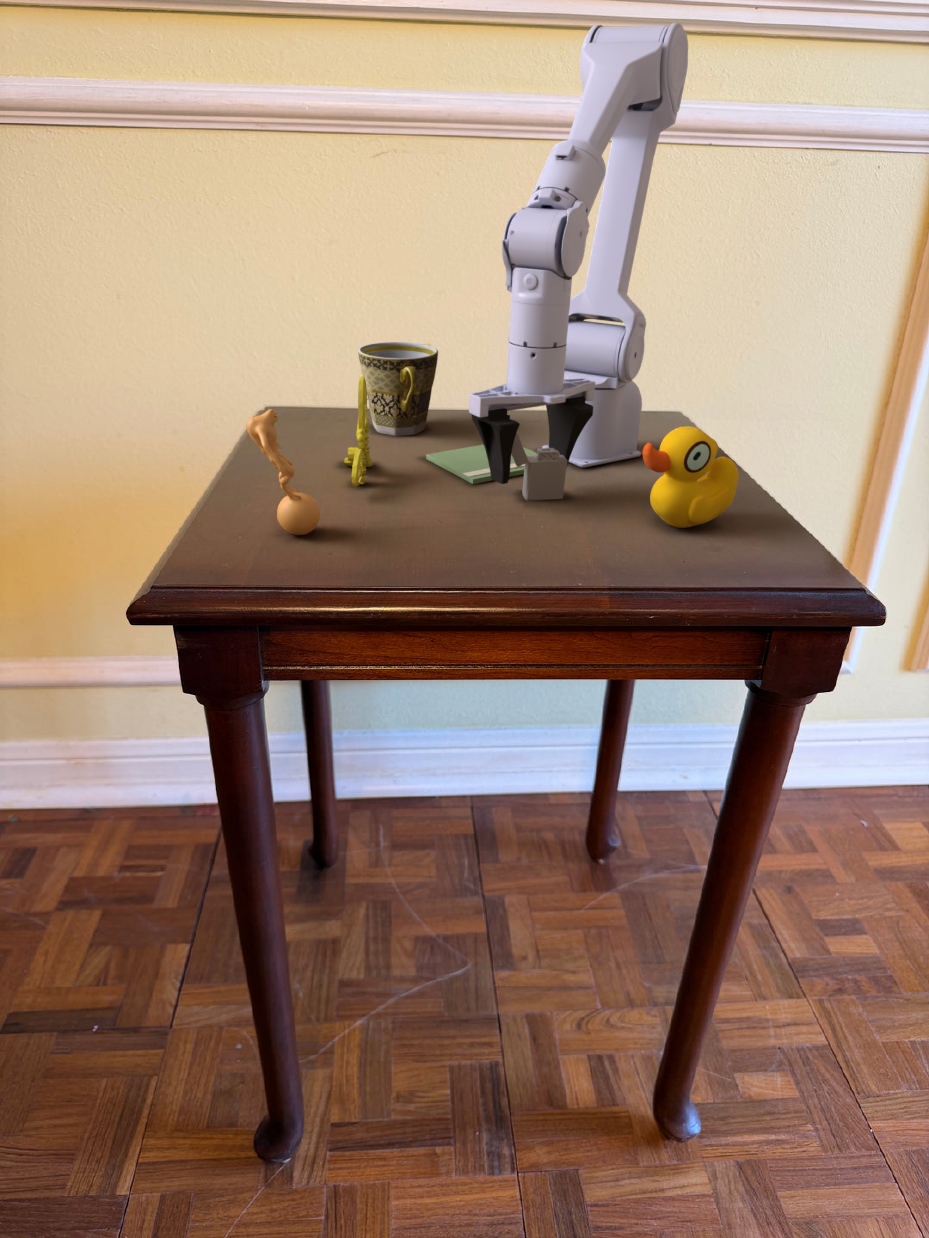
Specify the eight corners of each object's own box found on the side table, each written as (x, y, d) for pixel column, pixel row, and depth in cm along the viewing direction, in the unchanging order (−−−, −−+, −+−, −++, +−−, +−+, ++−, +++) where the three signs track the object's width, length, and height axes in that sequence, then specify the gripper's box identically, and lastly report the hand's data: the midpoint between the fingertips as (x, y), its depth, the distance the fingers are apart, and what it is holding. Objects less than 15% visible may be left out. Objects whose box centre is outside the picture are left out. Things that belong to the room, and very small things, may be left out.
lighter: (558, 491, 95) (566, 421, 91) (563, 498, 94) (571, 427, 89) (494, 494, 94) (499, 422, 90) (498, 501, 93) (503, 429, 88)
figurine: (327, 549, 80) (320, 420, 75) (260, 554, 79) (247, 423, 73) (315, 515, 87) (308, 395, 82) (253, 520, 86) (242, 398, 80)
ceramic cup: (353, 420, 118) (351, 343, 113) (425, 415, 120) (426, 340, 116) (374, 449, 107) (372, 365, 102) (453, 444, 109) (455, 362, 105)
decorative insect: (370, 524, 99) (362, 481, 90) (341, 524, 99) (330, 480, 90) (377, 425, 103) (369, 374, 94) (349, 424, 103) (339, 373, 94)
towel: (507, 444, 110) (508, 439, 110) (558, 467, 103) (558, 461, 102) (425, 459, 104) (425, 453, 104) (472, 484, 97) (473, 478, 96)
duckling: (650, 543, 84) (664, 441, 79) (618, 523, 88) (630, 425, 83) (743, 526, 88) (762, 429, 83) (709, 508, 92) (725, 414, 88)
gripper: (501, 357, 80) (494, 498, 86) (620, 343, 87) (605, 475, 93) (458, 343, 85) (455, 477, 91) (574, 331, 92) (563, 456, 99)
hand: (528, 475), depth 93 cm, fingers closed on lighter, 7 cm apart
